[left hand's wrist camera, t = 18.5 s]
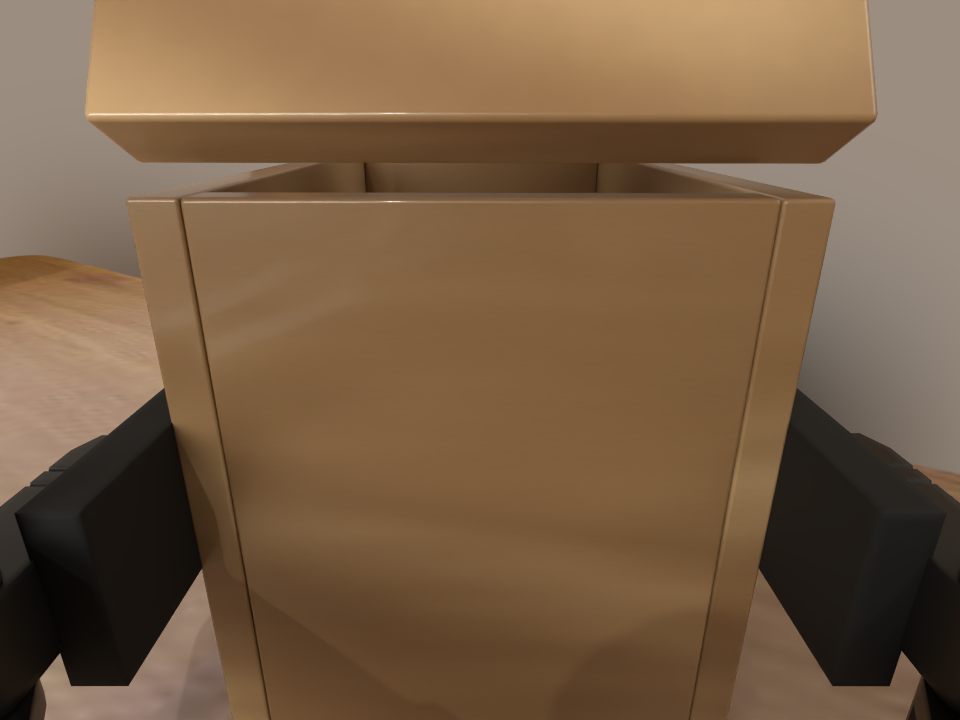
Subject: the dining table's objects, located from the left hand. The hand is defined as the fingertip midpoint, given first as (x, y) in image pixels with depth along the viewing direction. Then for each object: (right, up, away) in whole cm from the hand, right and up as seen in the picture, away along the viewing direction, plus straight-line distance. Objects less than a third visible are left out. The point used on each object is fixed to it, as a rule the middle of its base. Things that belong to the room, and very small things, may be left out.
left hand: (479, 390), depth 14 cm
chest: (0, -5, +5) cm, 7 cm away
